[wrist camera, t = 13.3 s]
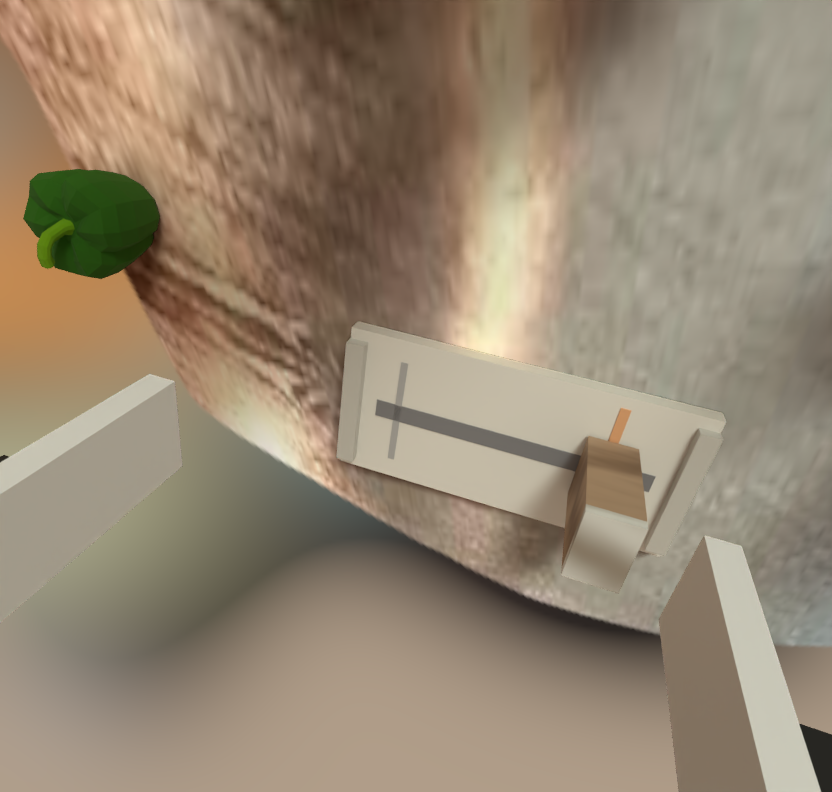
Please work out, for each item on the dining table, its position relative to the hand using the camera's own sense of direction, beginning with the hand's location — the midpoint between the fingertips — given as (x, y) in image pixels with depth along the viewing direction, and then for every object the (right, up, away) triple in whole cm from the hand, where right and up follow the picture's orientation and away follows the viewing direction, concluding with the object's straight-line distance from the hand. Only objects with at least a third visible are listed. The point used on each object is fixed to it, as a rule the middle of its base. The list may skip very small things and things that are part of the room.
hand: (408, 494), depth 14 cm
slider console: (+8, -1, +35) cm, 36 cm away
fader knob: (+15, -4, +32) cm, 36 cm away
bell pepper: (-25, +19, +36) cm, 48 cm away
